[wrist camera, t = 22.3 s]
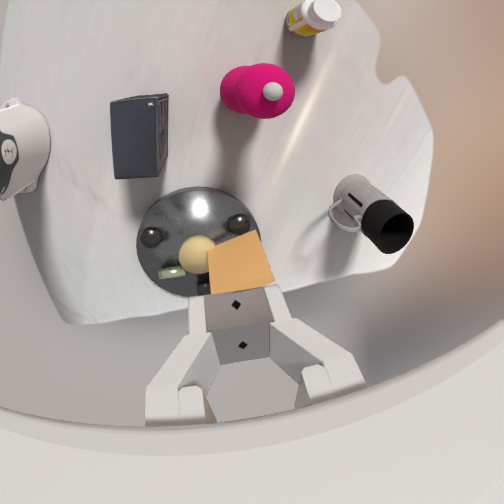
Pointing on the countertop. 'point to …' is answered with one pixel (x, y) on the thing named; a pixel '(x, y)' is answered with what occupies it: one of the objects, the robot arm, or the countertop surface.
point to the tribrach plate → (188, 234)
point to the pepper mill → (258, 90)
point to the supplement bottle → (313, 17)
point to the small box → (139, 135)
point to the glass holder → (372, 214)
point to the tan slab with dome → (227, 262)
